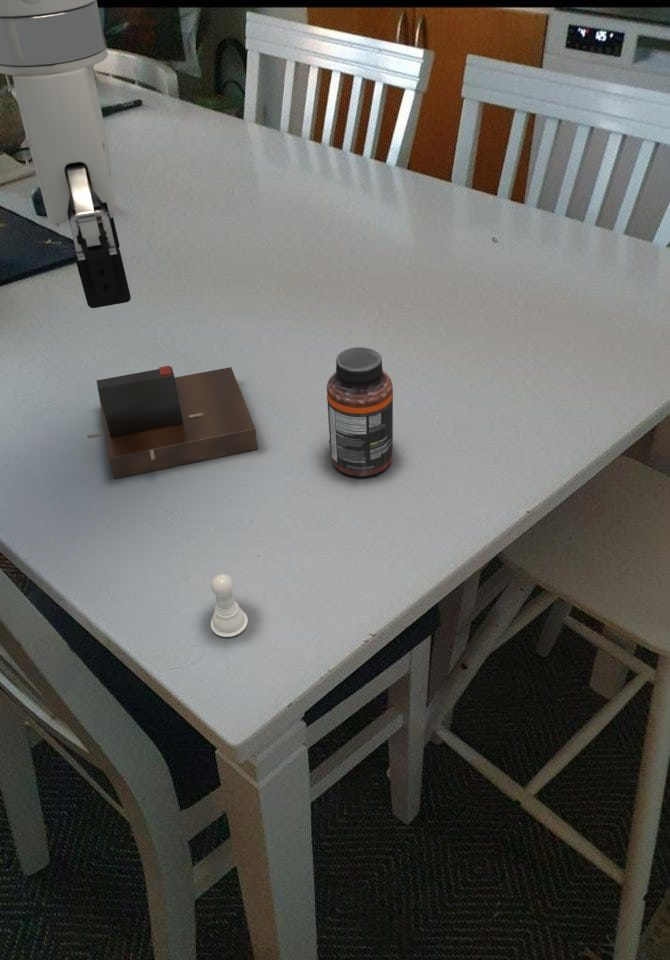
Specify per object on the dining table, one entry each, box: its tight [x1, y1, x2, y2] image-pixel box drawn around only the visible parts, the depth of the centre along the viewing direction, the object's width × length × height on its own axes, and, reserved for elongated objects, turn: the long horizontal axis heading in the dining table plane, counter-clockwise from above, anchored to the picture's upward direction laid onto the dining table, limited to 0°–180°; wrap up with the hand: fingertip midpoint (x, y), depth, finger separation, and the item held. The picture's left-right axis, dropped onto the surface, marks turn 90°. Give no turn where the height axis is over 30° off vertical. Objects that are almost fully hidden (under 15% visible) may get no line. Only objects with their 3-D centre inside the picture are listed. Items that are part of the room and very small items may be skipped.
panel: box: [86, 366, 259, 480], centre depth 81 cm, size 16×14×3 cm
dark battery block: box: [96, 365, 183, 437], centre depth 77 cm, size 7×2×6 cm, turn 107°
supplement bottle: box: [326, 346, 394, 478], centre depth 74 cm, size 6×6×11 cm
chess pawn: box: [210, 573, 249, 638], centre depth 61 cm, size 3×3×5 cm
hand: (105, 276), depth 65 cm, fingers open, 9 cm apart
